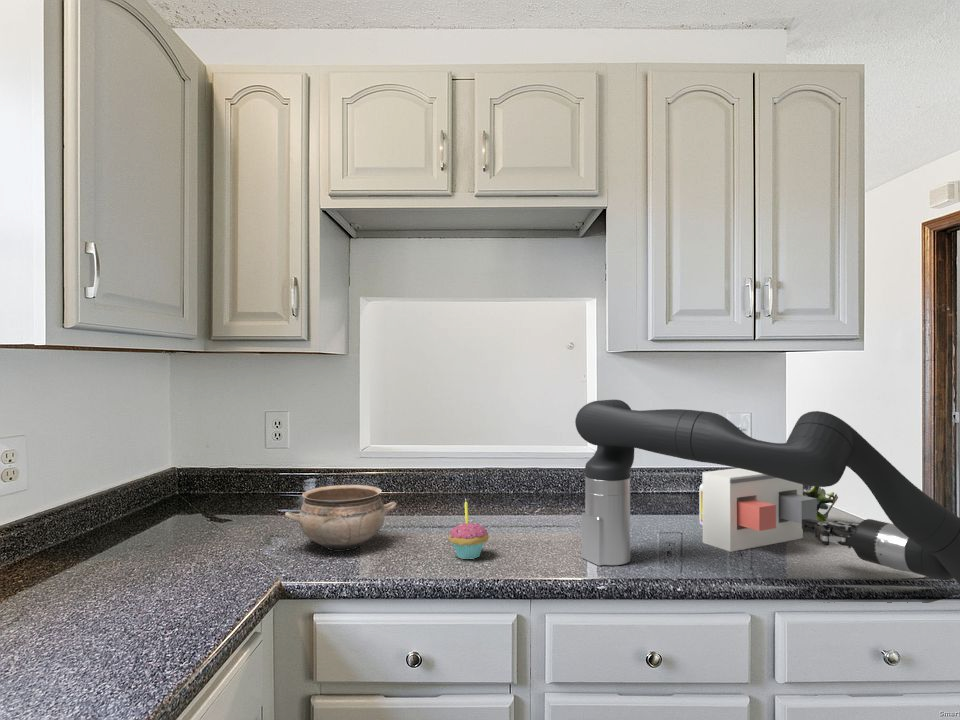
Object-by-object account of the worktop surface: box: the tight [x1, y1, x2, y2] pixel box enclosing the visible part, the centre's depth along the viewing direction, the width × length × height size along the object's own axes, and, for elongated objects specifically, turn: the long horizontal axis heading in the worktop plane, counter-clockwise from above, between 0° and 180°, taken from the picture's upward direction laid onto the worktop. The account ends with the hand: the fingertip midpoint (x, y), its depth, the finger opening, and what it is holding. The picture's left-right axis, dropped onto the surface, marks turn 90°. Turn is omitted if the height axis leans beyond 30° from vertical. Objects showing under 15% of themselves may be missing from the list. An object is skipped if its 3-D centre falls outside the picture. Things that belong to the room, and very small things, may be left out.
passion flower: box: [803, 485, 839, 523], centre depth 163 cm, size 13×12×14 cm
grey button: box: [779, 494, 818, 524], centre depth 148 cm, size 5×6×5 cm
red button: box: [737, 499, 776, 531], centre depth 143 cm, size 5×6×5 cm
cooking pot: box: [284, 484, 397, 551], centre depth 149 cm, size 25×19×12 cm
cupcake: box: [448, 498, 490, 559], centre depth 141 cm, size 9×8×12 cm
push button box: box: [701, 467, 804, 553], centre depth 151 cm, size 23×8×16 cm, turn 116°
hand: (804, 523), depth 132 cm, fingers closed
